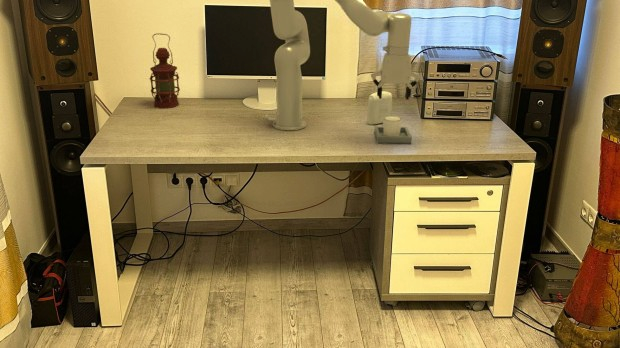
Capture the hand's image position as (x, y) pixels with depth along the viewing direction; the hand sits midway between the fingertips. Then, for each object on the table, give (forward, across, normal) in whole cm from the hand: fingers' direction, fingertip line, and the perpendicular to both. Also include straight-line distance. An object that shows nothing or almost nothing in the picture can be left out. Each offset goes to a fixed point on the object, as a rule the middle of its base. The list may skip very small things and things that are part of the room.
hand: (393, 98), depth 226 cm
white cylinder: (+15, 0, 0) cm, 15 cm away
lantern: (+18, -90, +40) cm, 100 cm away
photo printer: (+16, -2, +19) cm, 25 cm away
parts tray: (+15, +1, 0) cm, 15 cm away
